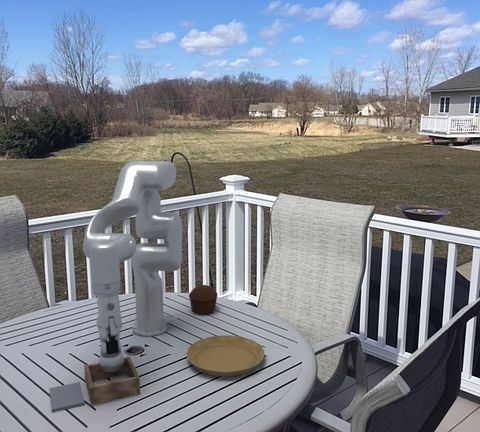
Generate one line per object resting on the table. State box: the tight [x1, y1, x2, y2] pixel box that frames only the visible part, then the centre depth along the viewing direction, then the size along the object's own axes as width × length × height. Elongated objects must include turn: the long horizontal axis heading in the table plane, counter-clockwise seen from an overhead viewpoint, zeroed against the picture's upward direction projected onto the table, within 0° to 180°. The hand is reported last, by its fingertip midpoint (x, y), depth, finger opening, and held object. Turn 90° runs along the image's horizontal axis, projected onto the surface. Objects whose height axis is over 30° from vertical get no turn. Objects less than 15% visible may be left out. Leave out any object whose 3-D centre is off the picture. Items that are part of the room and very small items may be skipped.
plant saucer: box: [186, 334, 265, 378], centre depth 150 cm, size 24×24×3 cm
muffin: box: [188, 284, 219, 316], centre depth 188 cm, size 12×11×10 cm
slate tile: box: [49, 381, 85, 413], centre depth 130 cm, size 8×11×1 cm
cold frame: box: [83, 356, 141, 406], centre depth 134 cm, size 13×13×5 cm
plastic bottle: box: [96, 315, 125, 372], centre depth 132 cm, size 6×7×20 cm
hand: (110, 347), depth 133 cm, fingers closed on plastic bottle, 5 cm apart
